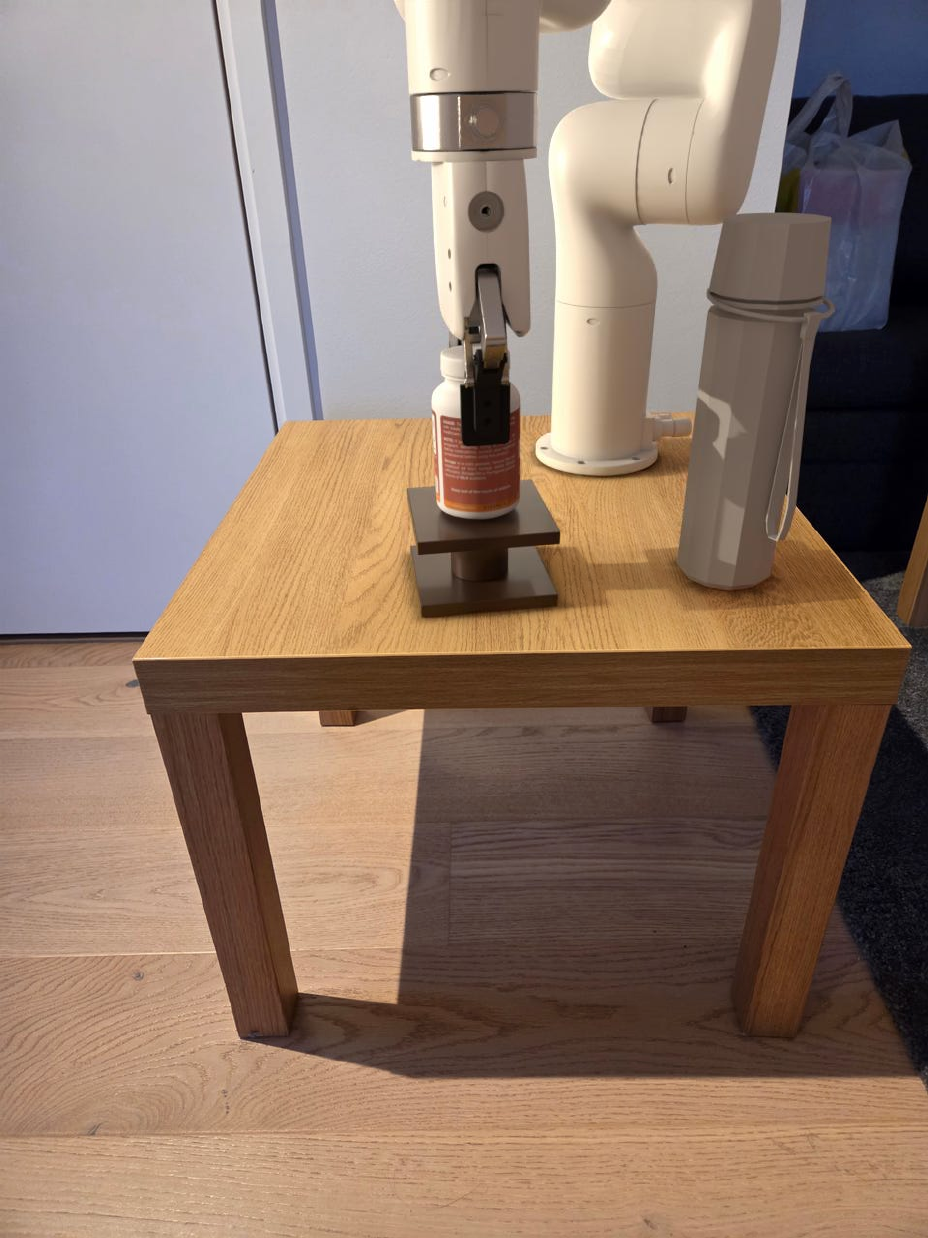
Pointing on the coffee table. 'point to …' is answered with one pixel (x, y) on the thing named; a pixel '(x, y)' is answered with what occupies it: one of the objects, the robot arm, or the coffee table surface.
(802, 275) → the water bottle
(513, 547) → the stand
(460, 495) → the pill bottle
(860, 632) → the coffee table surface
